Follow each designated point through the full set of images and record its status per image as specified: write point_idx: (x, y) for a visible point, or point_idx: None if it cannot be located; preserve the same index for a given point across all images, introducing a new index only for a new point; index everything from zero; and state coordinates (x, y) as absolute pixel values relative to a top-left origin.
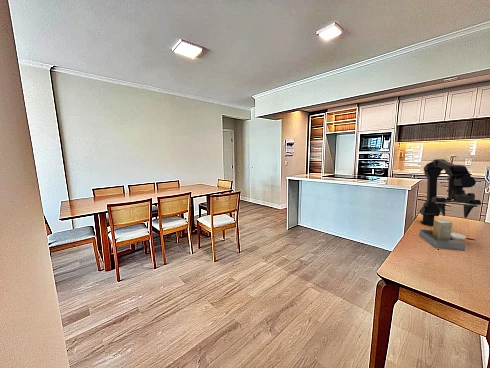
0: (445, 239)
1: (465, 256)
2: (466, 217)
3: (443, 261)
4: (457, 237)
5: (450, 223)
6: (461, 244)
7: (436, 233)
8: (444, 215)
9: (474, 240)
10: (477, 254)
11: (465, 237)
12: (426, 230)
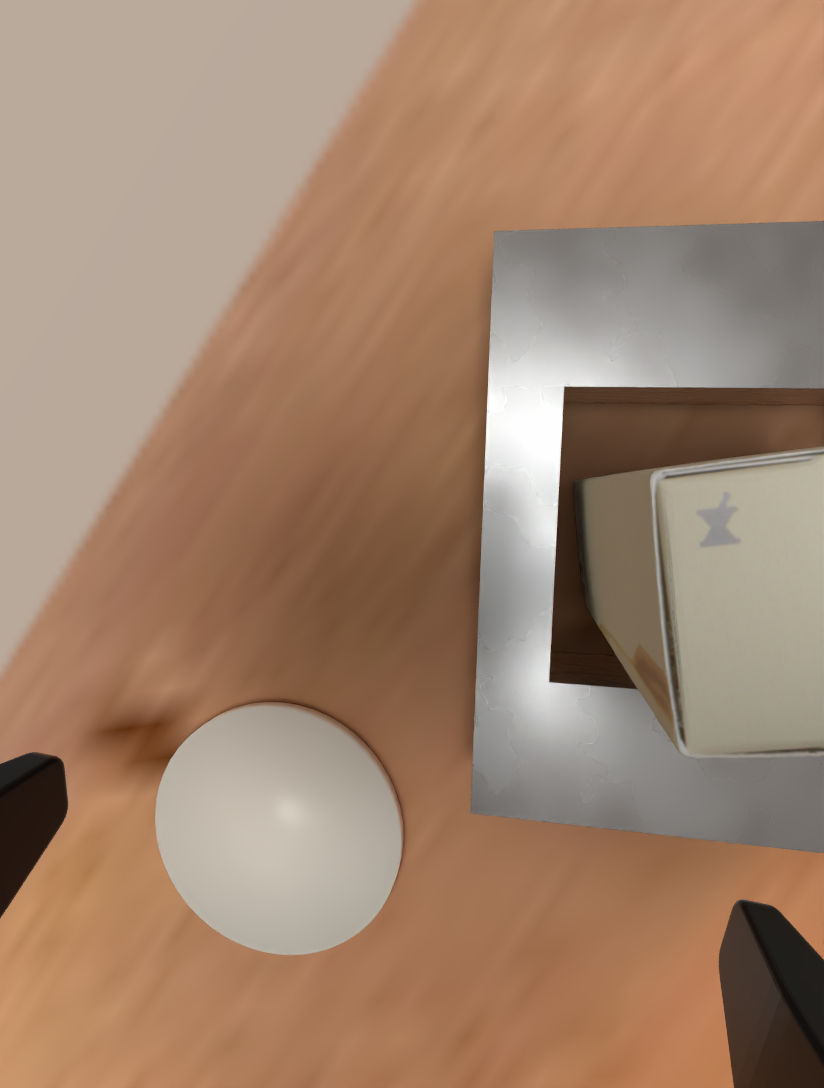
0: (734, 383)
1: (630, 42)
2: (31, 758)
3: None
4: (295, 740)
5: (718, 461)
6: (558, 232)
7: None
8: (768, 914)
9: (112, 691)
10: (399, 175)
11: (180, 753)
12: (815, 827)
